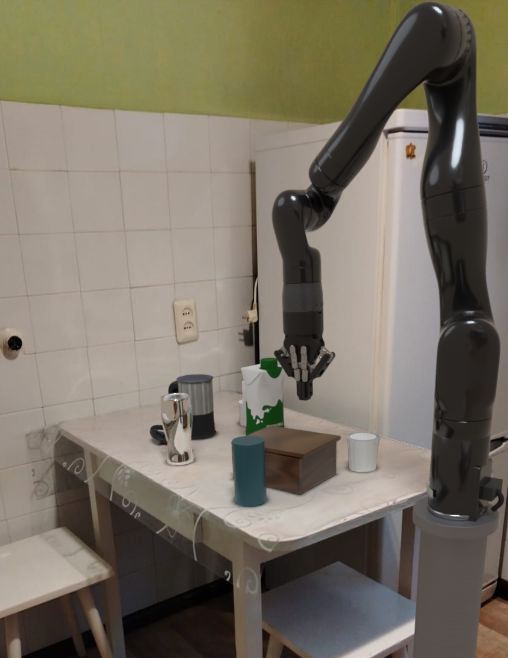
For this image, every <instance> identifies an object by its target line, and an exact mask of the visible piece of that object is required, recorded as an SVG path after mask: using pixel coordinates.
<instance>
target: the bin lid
mask: <svg viewBox="0 0 508 658" xmlns="http://www.w3.org/2000/svg"><path fill="white" fill-rule="evenodd" d="M284 427H285V426H284ZM284 427H277V426H268V427H266V428H263V429H261V430H259V431H256V432H254V433H251V434H249V435H246V434H245V436H259V437H262V438H264V440H265V451H266V452H272V453H278V454H283V455H289V456H295V457H300V458H305V457H307V456H309V455H311V454H313V453H315V452H317V451H319V450H321V449H323V448H325V447H327V446H329V445H331V444H333V443H335V442H336V443H337V442H339V441H341V440H342V436H341V435H338V434H331V433H326V432H325V433H324V432H318V431H311V430H306V429H305V430H304V429H298V428H297V429H296V428H290V427H285V428H284ZM230 443H231V446H232V441H231V442H230Z"/></svg>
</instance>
